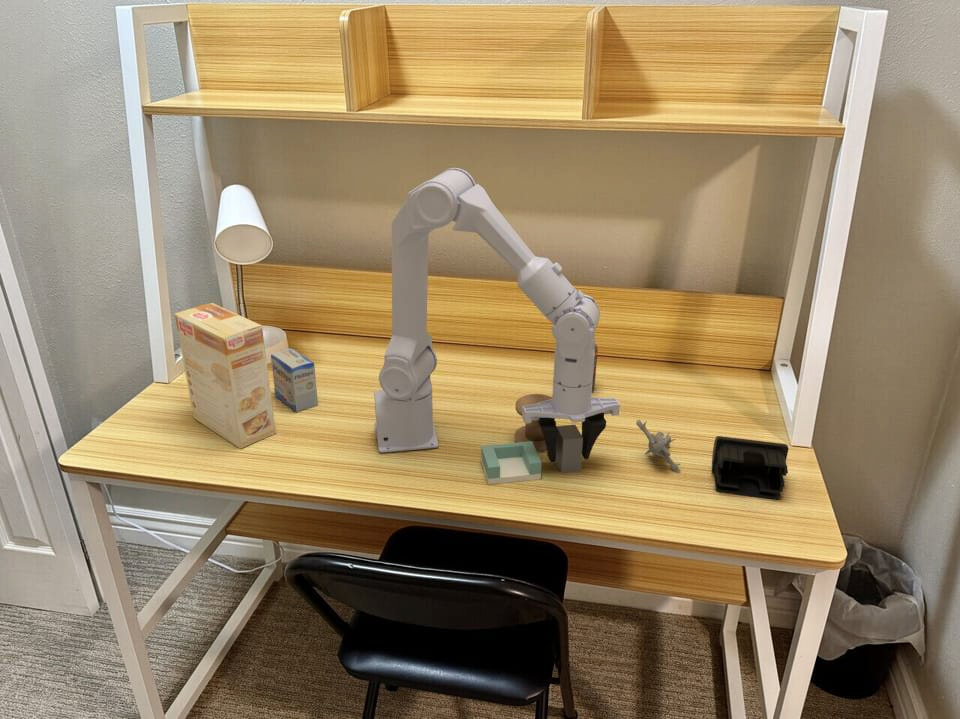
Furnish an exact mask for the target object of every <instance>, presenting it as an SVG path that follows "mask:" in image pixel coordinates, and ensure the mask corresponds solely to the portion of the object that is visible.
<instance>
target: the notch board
mask: <svg viewBox="0 0 960 719" xmlns="http://www.w3.org/2000/svg"><path fill="white" fill-rule="evenodd" d="M480 450H481V453H480V457H481V458H480V461H481V462H480V463H481V466H482V469H483V472H484V475H485V478H486V479H485V480H486V482H487V484H488V485H495V484H496V485H498V484H507V483H508V484H509V483H516V482H517V483H518V482H527V481H536V480H542V464H543V463H542V460H541V458H540V455H539V453H538V451H536V449H535V447H534V445H533V442H532V441H529V442H518V443H516V442H510V443H499V444H498V443H497V444H490V445H487V444H486V445H481V449H480Z"/></svg>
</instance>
